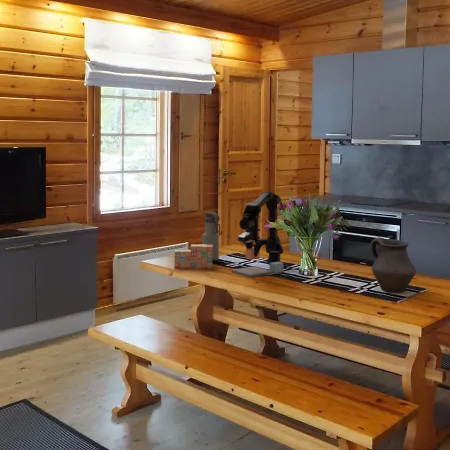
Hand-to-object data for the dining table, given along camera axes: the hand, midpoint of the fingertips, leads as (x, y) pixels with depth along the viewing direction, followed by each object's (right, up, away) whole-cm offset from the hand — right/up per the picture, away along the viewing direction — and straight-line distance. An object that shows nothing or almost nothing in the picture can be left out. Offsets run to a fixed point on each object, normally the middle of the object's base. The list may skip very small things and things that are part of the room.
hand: (252, 255), depth 344 cm
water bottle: (-23, -4, +37) cm, 44 cm away
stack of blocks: (-32, -7, +17) cm, 37 cm away
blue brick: (+13, -9, +4) cm, 16 cm away
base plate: (0, -9, +1) cm, 9 cm away
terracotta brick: (0, -1, 0) cm, 1 cm away
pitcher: (+65, -15, -35) cm, 75 cm away
